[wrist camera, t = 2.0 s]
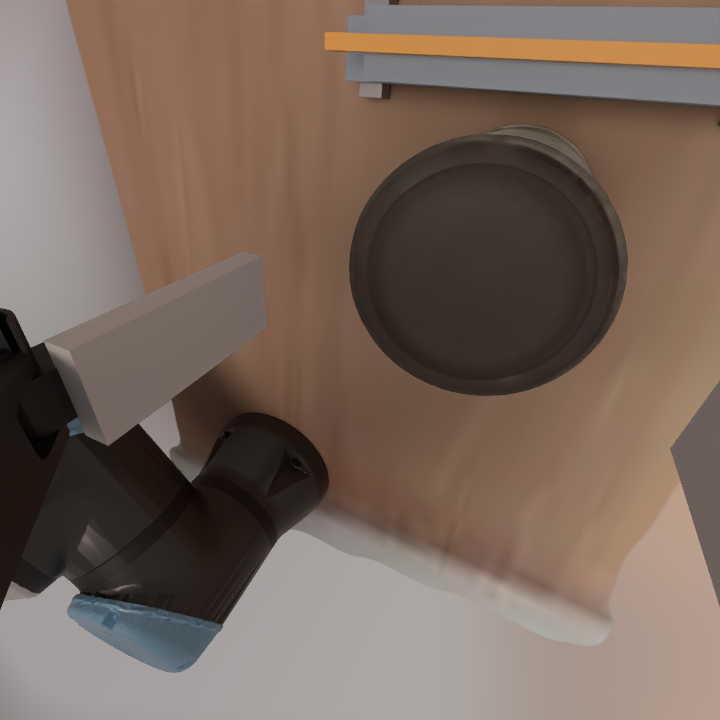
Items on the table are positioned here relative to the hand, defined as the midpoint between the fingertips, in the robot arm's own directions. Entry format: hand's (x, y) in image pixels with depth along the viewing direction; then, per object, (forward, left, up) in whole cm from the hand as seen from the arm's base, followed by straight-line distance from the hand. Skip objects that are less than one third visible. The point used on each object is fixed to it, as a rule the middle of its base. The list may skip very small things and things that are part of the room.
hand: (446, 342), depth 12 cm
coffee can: (0, 0, -19) cm, 19 cm away
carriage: (0, +8, -17) cm, 19 cm away
